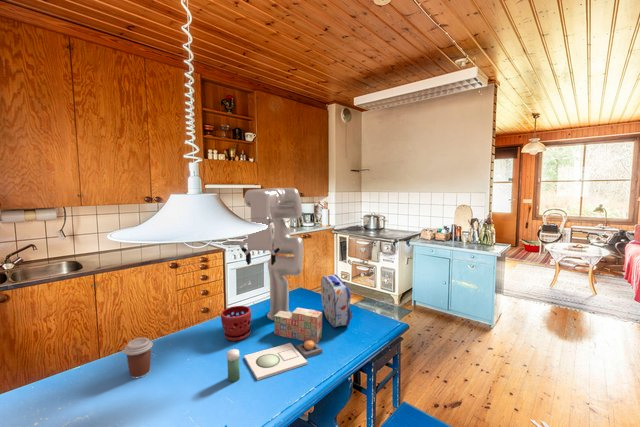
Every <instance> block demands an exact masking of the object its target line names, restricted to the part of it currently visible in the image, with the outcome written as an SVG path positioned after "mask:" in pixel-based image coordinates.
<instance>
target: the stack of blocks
mask: <svg viewBox="0 0 640 427" xmlns="http://www.w3.org/2000/svg"><path fill="white" fill-rule="evenodd" d="M273 326H274V327H273V328H274V330H273V332H274V333H273V334H274V335H275V336H279V337H280V336H281V337H283V338H288V339H294V340H298V341H302V342H305V341H308V340H311V341H314V342H315V343H316V344H317V345H318V343H319V341H321V339H322V337H323V311H319V310H315V309H309V308H308V309H307V308H302V307H296V308H295V309H294V310H293V311H290V312H285V311H279V312H278V313H277V314H276V315H275V316H274V321H273Z"/></svg>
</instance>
